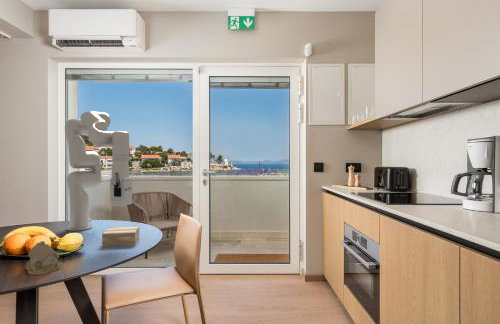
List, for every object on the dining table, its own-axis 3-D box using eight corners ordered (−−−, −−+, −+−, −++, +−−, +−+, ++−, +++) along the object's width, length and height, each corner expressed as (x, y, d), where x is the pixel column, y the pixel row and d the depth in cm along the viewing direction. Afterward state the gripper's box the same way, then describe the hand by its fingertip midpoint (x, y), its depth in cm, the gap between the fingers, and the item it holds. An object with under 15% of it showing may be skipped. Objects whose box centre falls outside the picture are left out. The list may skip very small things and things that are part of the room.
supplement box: (124, 206, 160) (124, 178, 160) (109, 205, 162) (109, 178, 161) (132, 204, 167) (132, 177, 167) (118, 203, 169) (118, 177, 168)
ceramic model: (68, 268, 127) (67, 241, 127) (34, 277, 118) (34, 247, 118) (49, 261, 135) (48, 235, 135) (16, 269, 126) (16, 241, 126)
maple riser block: (109, 239, 171) (109, 227, 170) (139, 238, 173) (139, 226, 173) (102, 247, 157) (102, 233, 157) (135, 245, 159) (134, 232, 159)
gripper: (120, 157, 173) (120, 193, 173) (104, 158, 155) (105, 197, 156) (135, 157, 172) (136, 193, 173) (121, 158, 155) (121, 197, 155)
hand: (121, 195), depth 164 cm, fingers closed on supplement box, 8 cm apart
